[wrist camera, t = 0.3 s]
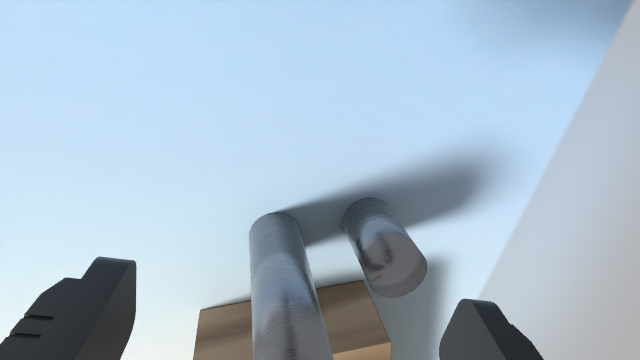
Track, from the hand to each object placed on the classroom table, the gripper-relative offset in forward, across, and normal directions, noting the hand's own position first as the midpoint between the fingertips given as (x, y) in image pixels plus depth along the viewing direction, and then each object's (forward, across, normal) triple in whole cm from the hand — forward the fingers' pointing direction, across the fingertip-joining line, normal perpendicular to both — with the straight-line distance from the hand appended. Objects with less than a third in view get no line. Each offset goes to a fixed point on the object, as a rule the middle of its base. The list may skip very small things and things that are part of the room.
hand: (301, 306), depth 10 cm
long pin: (+18, -1, +10) cm, 21 cm away
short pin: (+19, -8, +8) cm, 22 cm away
